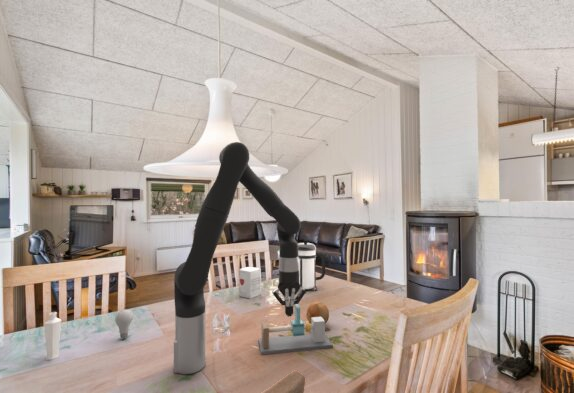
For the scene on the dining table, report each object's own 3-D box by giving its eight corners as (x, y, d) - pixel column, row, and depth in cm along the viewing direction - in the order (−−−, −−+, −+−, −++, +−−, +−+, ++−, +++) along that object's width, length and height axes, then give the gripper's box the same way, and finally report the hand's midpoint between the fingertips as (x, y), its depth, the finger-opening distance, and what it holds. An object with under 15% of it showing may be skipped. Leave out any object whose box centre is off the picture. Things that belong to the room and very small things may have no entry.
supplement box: (238, 296, 165) (238, 269, 165) (249, 292, 172) (249, 266, 172) (250, 299, 160) (250, 271, 160) (261, 294, 167) (261, 268, 167)
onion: (310, 319, 132) (310, 297, 132) (332, 323, 128) (332, 300, 128) (302, 327, 123) (302, 303, 124) (325, 332, 119) (325, 307, 119)
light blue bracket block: (293, 336, 107) (293, 308, 107) (291, 331, 111) (290, 304, 112) (304, 335, 108) (303, 307, 108) (301, 330, 112) (301, 303, 112)
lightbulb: (129, 341, 112) (129, 312, 112) (112, 343, 111) (112, 313, 111) (135, 334, 118) (135, 306, 118) (118, 335, 117) (118, 307, 117)
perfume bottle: (57, 359, 99) (58, 314, 100) (42, 361, 98) (42, 316, 98) (63, 352, 104) (64, 309, 104) (49, 354, 103) (49, 311, 103)
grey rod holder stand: (260, 354, 102) (260, 329, 102) (258, 341, 112) (258, 318, 112) (332, 347, 107) (332, 323, 107) (324, 335, 117) (324, 313, 117)
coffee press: (312, 294, 167) (312, 241, 167) (288, 290, 175) (288, 239, 176) (325, 287, 181) (325, 238, 182) (303, 283, 190) (302, 236, 190)
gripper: (272, 272, 105) (272, 321, 104) (308, 270, 107) (309, 318, 107) (269, 267, 112) (270, 313, 112) (303, 265, 114) (304, 310, 114)
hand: (289, 315), depth 109 cm, fingers closed
